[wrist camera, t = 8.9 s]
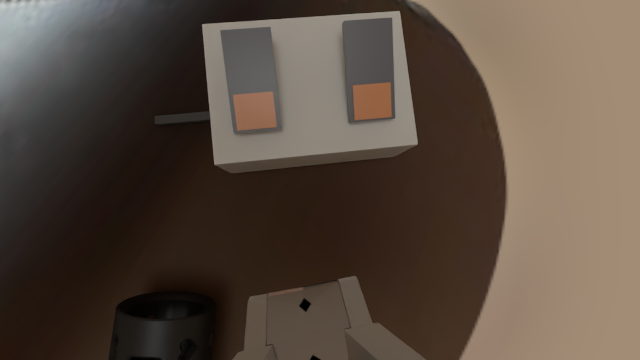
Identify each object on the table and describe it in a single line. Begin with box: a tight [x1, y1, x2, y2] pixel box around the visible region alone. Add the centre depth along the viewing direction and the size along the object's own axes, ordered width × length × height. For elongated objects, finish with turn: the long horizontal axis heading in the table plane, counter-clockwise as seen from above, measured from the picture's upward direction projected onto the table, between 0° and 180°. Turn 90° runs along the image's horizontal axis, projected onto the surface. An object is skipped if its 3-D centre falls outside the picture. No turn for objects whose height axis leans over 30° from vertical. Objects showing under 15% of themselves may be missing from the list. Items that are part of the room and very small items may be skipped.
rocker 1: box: [220, 27, 282, 134], centre depth 30 cm, size 4×9×2 cm, turn 6°
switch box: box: [155, 11, 418, 173], centre depth 36 cm, size 28×14×8 cm, turn 96°
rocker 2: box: [342, 17, 395, 123], centre depth 31 cm, size 4×9×2 cm, turn 6°
